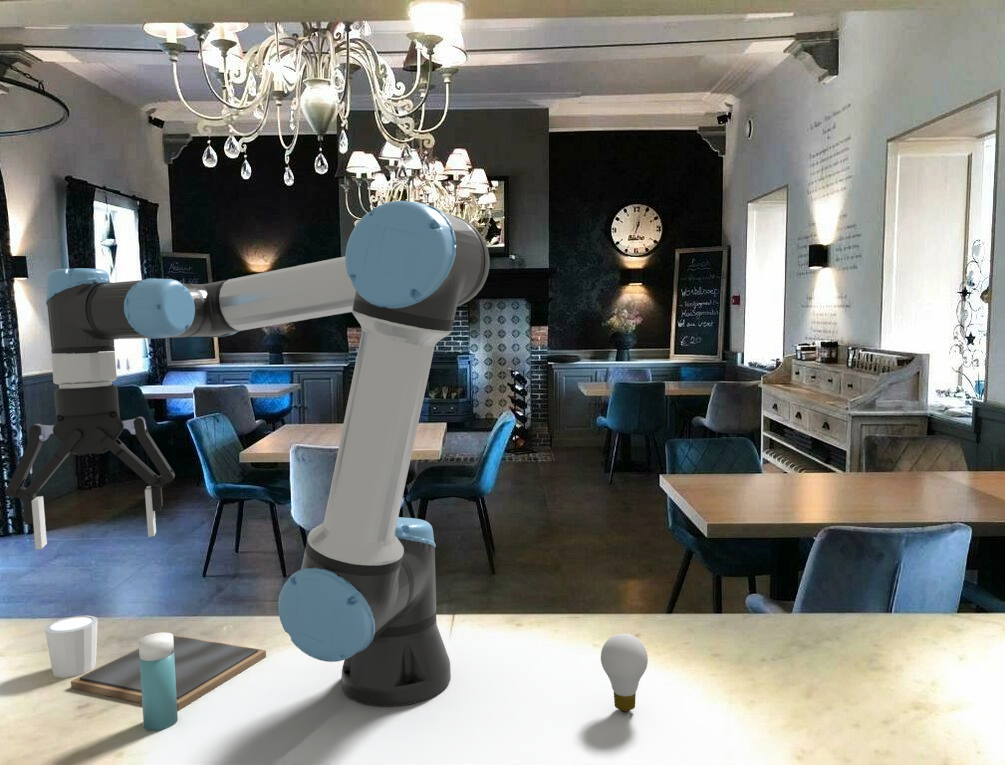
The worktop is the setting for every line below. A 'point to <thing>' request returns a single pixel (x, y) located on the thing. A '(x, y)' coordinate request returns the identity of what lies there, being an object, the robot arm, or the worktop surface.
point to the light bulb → (624, 668)
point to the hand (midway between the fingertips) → (97, 540)
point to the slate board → (194, 670)
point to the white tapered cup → (72, 645)
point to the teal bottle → (158, 681)
